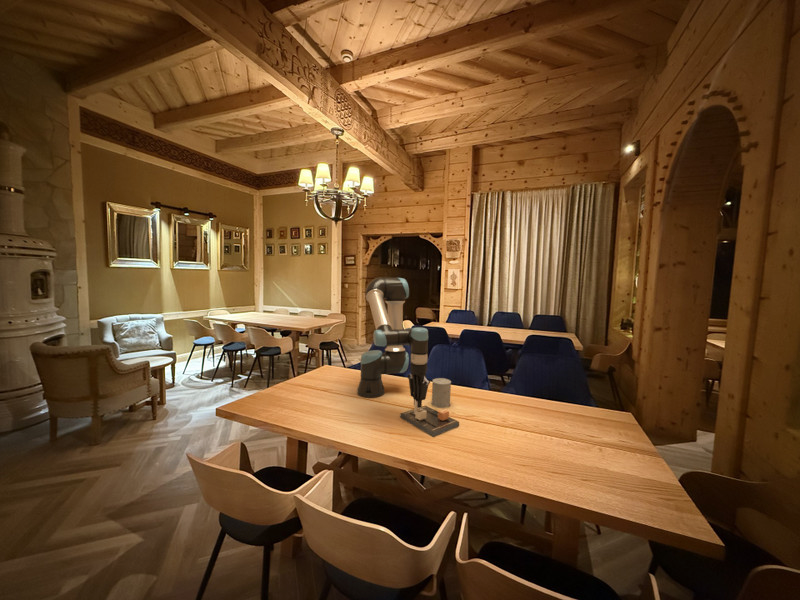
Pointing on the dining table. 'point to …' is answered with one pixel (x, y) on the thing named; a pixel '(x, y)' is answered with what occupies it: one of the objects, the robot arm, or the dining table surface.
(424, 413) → the fader ivory
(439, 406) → the grey speckled cylinder
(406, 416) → the console
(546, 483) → the dining table surface
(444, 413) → the fader terracotta
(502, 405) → the dining table surface
